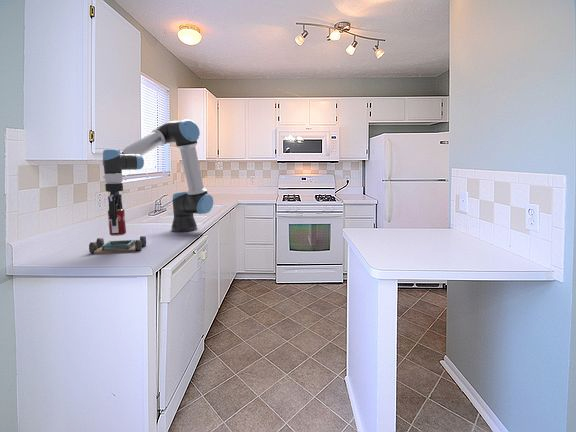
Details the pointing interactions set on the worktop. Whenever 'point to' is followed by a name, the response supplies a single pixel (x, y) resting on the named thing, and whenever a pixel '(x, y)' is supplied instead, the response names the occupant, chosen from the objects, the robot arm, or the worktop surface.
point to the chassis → (117, 246)
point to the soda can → (120, 223)
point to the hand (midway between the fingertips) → (117, 231)
